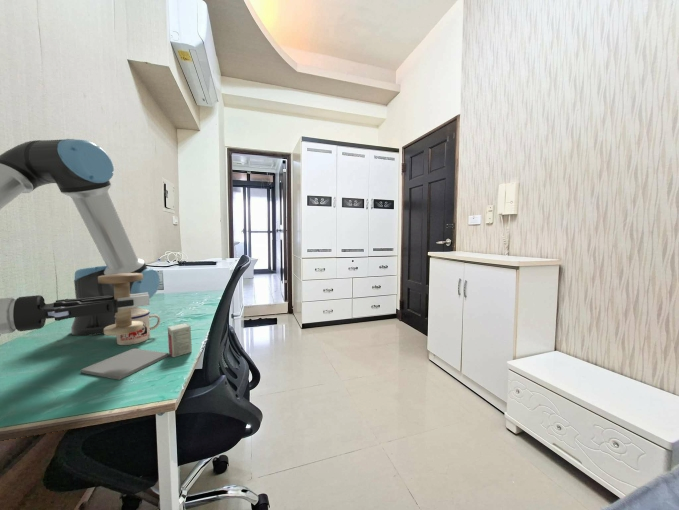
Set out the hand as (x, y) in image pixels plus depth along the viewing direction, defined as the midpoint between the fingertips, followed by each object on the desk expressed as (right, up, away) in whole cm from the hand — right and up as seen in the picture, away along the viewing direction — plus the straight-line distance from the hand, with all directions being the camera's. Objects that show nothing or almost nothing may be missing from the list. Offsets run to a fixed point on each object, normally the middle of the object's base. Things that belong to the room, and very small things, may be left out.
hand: (148, 298), depth 73 cm
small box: (+6, -17, +4) cm, 18 cm away
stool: (-4, -8, -3) cm, 9 cm away
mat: (-4, -17, -2) cm, 18 cm away
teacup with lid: (-14, -16, +15) cm, 26 cm away
